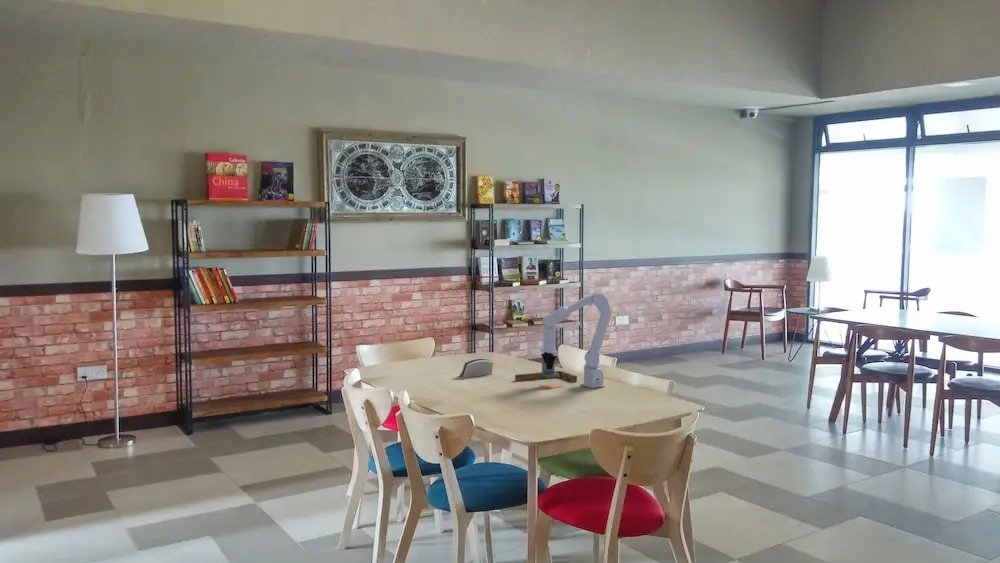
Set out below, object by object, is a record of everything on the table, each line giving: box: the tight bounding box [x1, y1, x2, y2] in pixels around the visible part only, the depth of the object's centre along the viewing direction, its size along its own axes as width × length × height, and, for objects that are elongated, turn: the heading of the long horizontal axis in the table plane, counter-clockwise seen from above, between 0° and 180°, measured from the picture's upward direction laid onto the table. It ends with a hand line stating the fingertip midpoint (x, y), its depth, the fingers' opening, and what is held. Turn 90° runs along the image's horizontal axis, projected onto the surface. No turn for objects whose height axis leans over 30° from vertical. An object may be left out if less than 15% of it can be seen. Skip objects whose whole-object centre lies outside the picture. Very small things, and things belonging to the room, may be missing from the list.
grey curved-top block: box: [459, 357, 494, 378], centre depth 411 cm, size 17×5×10 cm, turn 123°
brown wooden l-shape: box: [514, 370, 578, 383], centre depth 396 cm, size 15×26×3 cm, turn 115°
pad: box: [539, 382, 563, 389], centre depth 386 cm, size 8×8×1 cm
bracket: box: [541, 361, 561, 379], centre depth 385 cm, size 6×6×6 cm
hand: (548, 369), depth 387 cm, fingers closed on bracket
